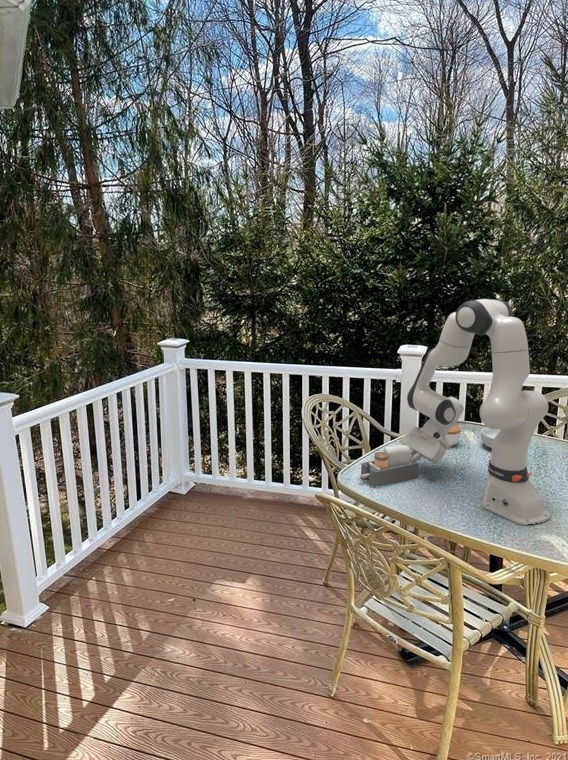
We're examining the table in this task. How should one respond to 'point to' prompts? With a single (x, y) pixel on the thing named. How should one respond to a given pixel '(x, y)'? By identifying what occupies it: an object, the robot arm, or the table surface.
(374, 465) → the pusher
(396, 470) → the lane
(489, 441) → the cereal bowl
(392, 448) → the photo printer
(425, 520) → the table surface
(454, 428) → the lidded jar
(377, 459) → the jar
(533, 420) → the robot arm
